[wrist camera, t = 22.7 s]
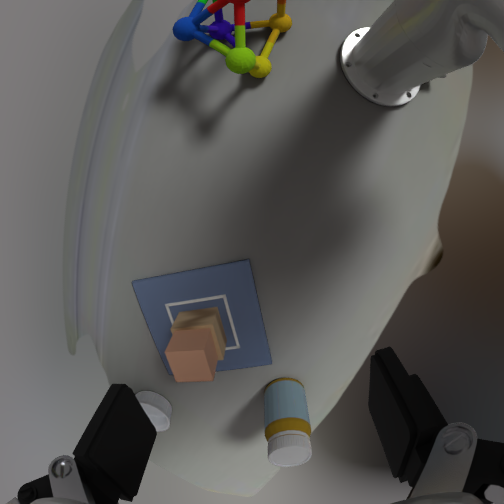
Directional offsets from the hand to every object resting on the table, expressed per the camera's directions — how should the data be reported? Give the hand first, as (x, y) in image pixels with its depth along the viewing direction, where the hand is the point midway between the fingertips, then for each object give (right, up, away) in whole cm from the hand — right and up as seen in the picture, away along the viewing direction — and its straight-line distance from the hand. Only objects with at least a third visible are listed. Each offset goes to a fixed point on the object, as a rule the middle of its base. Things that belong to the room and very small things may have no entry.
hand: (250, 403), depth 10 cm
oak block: (-7, -6, +33) cm, 34 cm away
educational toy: (-2, +34, +22) cm, 40 cm away
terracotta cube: (-8, -7, +28) cm, 30 cm away
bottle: (+6, -19, +37) cm, 42 cm away
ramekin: (-20, -24, +40) cm, 51 cm away
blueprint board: (-7, -6, +34) cm, 35 cm away
